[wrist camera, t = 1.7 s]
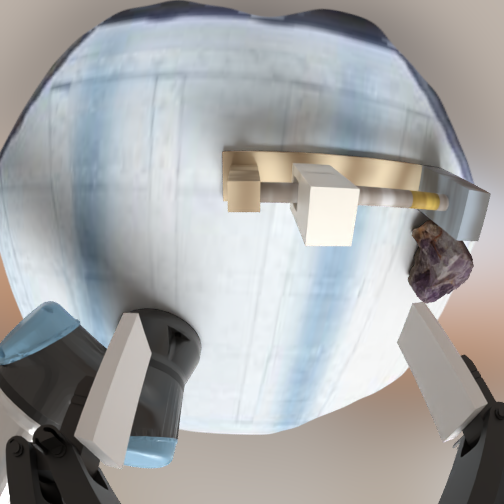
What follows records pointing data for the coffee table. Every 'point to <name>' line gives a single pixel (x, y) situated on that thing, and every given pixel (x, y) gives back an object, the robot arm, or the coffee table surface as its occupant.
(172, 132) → the coffee table surface
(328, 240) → the sleeve
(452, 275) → the rock
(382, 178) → the rail
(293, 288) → the coffee table surface
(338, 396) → the coffee table surface
